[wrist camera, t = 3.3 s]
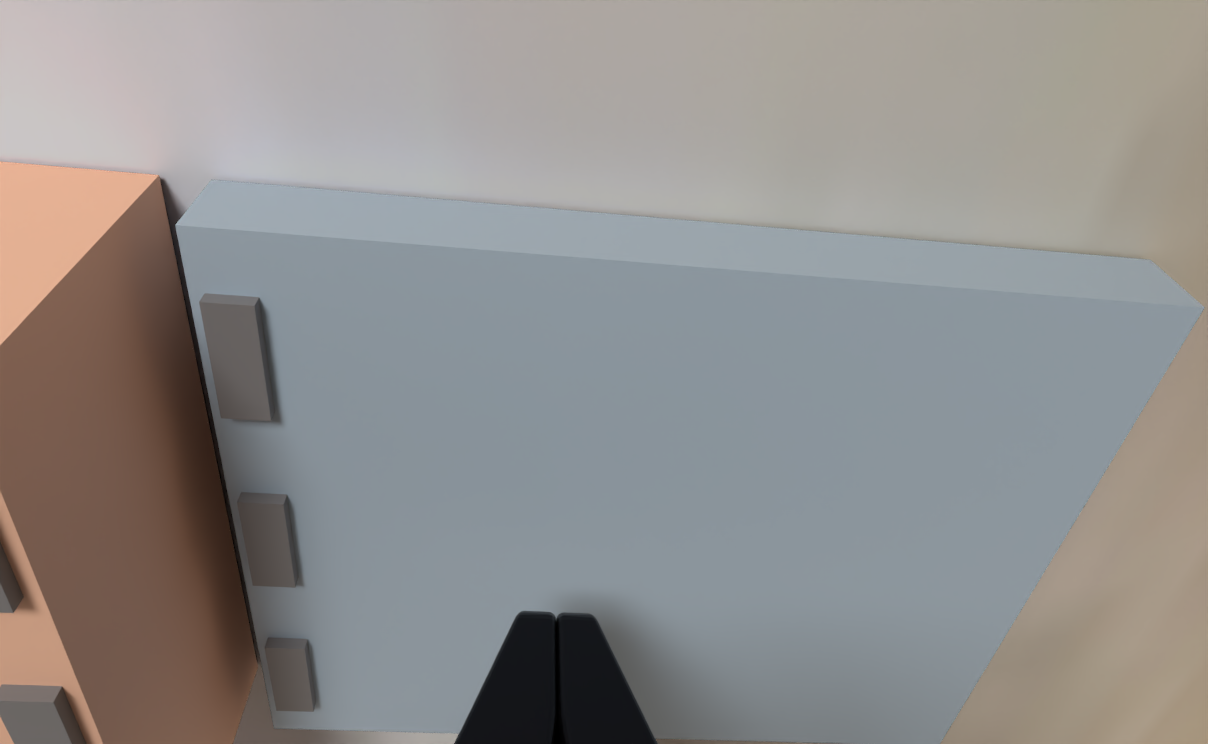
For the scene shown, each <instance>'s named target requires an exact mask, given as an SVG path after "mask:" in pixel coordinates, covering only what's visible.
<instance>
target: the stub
mask: <svg viewBox="0 0 1208 744" xmlns="http://www.w3.org/2000/svg"><path fill="white" fill-rule="evenodd" d="M257 669H258V665H257V660H256V655H255V650H254V645H253V640H252V635H251V630H250V625H249V620H248V615H247V610H246V605H245V601H244V596H243V591H242V586H241V581H240V576H239V571H238V566H237V561H236V556H235V551H234V546H233V541H232V536H231V531H230V526H229V521H228V516H227V511H226V506H225V501H224V496H223V491H222V486H221V481H220V476H219V471H218V466H217V461H216V456H215V451H214V446H213V441H212V436H211V431H210V426H209V421H208V416H207V411H206V406H205V401H204V396H203V391H202V386H201V381H200V376H199V371H198V366H197V361H196V357H195V352H194V347H193V342H192V337H191V332H190V327H189V322H188V317H187V312H186V307H185V302H184V297H183V292H182V287H181V282H180V277H179V272H178V267H177V262H176V257H175V252H174V247H173V242H172V237H171V232H170V227H169V222H168V217H167V212H166V207H165V202H164V197H163V192H162V187H161V182H160V177H159V175H151V174H140V173H128V172H116V171H105V170H93V169H81V168H69V167H58V166H46V165H34V164H23V163H11V162H0V744H233V741H234V738H235V735H236V732H237V729H238V726H239V723H240V720H241V717H242V714H243V711H244V708H245V705H246V702H247V699H248V696H249V693H250V690H251V687H252V684H253V681H254V678H255V675H256V672H257Z"/></svg>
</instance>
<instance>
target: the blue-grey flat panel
mask: <svg viewBox="0 0 1208 744" xmlns="http://www.w3.org/2000/svg"><path fill="white" fill-rule="evenodd" d="M175 227H176V232H177V237H178V242H179V247H180V252H181V257H182V263H183V268H184V273H185V278H186V283H187V288H188V293H189V298H190V303H191V308H192V314H193V319H194V324H195V329H196V334H197V339H198V344H199V349H200V354H201V359H202V364H203V370H204V375H205V380H206V385H207V390H208V395H209V400H210V405H211V410H212V415H213V420H214V426H215V431H216V436H217V441H218V446H219V451H220V456H221V461H222V466H223V471H224V477H225V482H226V487H227V492H228V497H229V502H230V507H231V512H232V517H233V522H234V527H235V533H236V538H237V543H238V548H239V553H240V558H241V563H242V568H243V573H244V578H245V583H246V589H247V594H248V599H249V604H250V609H251V614H252V619H253V624H254V629H255V634H256V640H257V645H258V650H259V655H260V660H261V665H262V670H263V675H264V680H265V685H266V690H267V696H268V701H269V706H270V711H271V716H272V721H273V726H274V729H309V730H347V731H385V732H423V733H460V731H461V729H462V727H463V725H464V722H465V720H466V718H467V716H468V714H469V712H470V710H471V708H472V706H473V704H474V702H475V700H476V698H477V695H478V693H479V691H480V689H481V687H482V685H483V683H484V681H485V679H486V677H487V675H488V673H489V671H490V669H491V666H492V664H493V662H494V660H495V658H496V656H497V654H498V652H499V650H500V648H501V646H502V644H503V642H504V639H505V637H506V635H507V633H508V631H509V629H510V627H511V625H512V623H513V621H514V619H515V617H516V615H517V614H518V613H519V612H521V611H546V612H551V613H553V614H554V615H555V617H557V616H558V614H560V613H562V612H571V613H590V614H592V615H594V616H595V618H596V619H597V620H598V622H599V624H600V626H601V628H602V630H603V632H604V634H605V636H606V639H607V641H608V643H609V645H610V647H611V649H612V651H613V653H614V655H615V657H616V659H617V661H618V663H619V665H620V667H621V669H622V671H623V673H624V675H625V678H626V680H627V682H628V684H629V686H630V688H631V690H632V692H633V694H634V696H635V698H636V700H637V702H638V704H639V706H640V708H641V710H642V712H643V714H644V717H645V719H646V721H647V723H648V725H649V727H650V729H651V731H652V733H653V735H654V737H655V739H689V740H727V741H765V742H803V743H841V744H940V743H941V741H942V740H943V738H944V736H945V735H946V733H947V731H948V730H949V728H950V727H951V725H952V723H953V722H954V720H955V718H956V717H957V715H958V713H959V712H960V710H961V708H962V707H963V705H964V703H965V702H966V700H967V699H968V697H969V695H970V694H971V692H972V690H973V689H974V687H975V685H976V684H977V682H978V680H979V679H980V677H981V675H982V674H983V672H984V671H985V669H986V667H987V666H988V664H989V662H990V661H991V659H992V657H993V656H994V654H995V652H996V651H997V649H998V647H999V646H1000V644H1001V642H1002V641H1003V639H1004V638H1005V636H1006V634H1007V633H1008V631H1009V629H1010V628H1011V626H1012V624H1013V623H1014V621H1015V619H1016V618H1017V616H1018V614H1019V613H1020V611H1021V610H1022V608H1023V606H1024V605H1025V603H1026V601H1027V600H1028V598H1029V596H1030V595H1031V593H1032V591H1033V590H1034V588H1035V586H1036V585H1037V583H1038V582H1039V580H1040V578H1041V577H1042V575H1043V573H1044V572H1045V570H1046V568H1047V567H1048V565H1049V563H1050V562H1051V560H1052V558H1053V557H1054V555H1055V553H1056V552H1057V550H1058V549H1059V547H1060V545H1061V544H1062V542H1063V540H1064V539H1065V537H1066V535H1067V534H1068V532H1069V530H1070V529H1071V527H1072V525H1073V524H1074V522H1075V521H1076V519H1077V517H1078V516H1079V514H1080V512H1081V511H1082V509H1083V507H1084V506H1085V504H1086V502H1087V501H1088V499H1089V497H1090V496H1091V494H1092V493H1093V491H1094V489H1095V488H1096V486H1097V484H1098V483H1099V481H1100V479H1101V478H1102V476H1103V474H1104V473H1105V471H1106V469H1107V468H1108V466H1109V464H1110V463H1111V461H1112V460H1113V458H1114V456H1115V455H1116V453H1117V451H1118V450H1119V448H1120V446H1121V445H1122V443H1123V441H1124V440H1125V438H1126V436H1127V435H1128V433H1129V432H1130V430H1131V428H1132V427H1133V425H1134V423H1135V422H1136V420H1137V418H1138V417H1139V415H1140V413H1141V412H1142V410H1143V408H1144V407H1145V405H1146V403H1147V402H1148V400H1149V399H1150V397H1151V395H1152V394H1153V392H1154V390H1155V389H1156V387H1157V385H1158V384H1159V382H1160V380H1161V379H1162V377H1163V375H1164V374H1165V372H1166V371H1167V369H1168V367H1169V366H1170V364H1171V362H1172V361H1173V359H1174V357H1175V356H1176V354H1177V352H1178V351H1179V349H1180V347H1181V346H1182V344H1183V343H1184V341H1185V339H1186V338H1187V336H1188V334H1189V333H1190V331H1191V329H1192V328H1193V326H1194V324H1195V323H1196V321H1197V319H1198V318H1199V316H1200V314H1201V313H1202V311H1203V310H1204V308H1205V307H1203V306H1202V305H1201V304H1200V303H1199V302H1198V301H1197V300H1196V299H1194V298H1193V297H1192V296H1191V295H1190V294H1189V293H1188V292H1186V291H1185V290H1184V289H1183V288H1182V287H1181V286H1180V285H1178V284H1177V283H1176V282H1175V281H1174V280H1173V279H1172V278H1170V277H1169V276H1168V275H1167V274H1166V273H1165V272H1164V271H1162V270H1161V269H1160V268H1159V267H1158V266H1157V265H1156V264H1155V263H1153V262H1152V261H1151V260H1147V259H1135V258H1123V257H1112V256H1100V255H1088V254H1077V253H1065V252H1053V251H1041V250H1030V249H1018V248H1006V247H995V246H983V245H971V244H959V243H948V242H936V241H924V240H913V239H901V238H889V237H877V236H866V235H854V234H842V233H831V232H819V231H807V230H796V229H784V228H772V227H760V226H749V225H737V224H725V223H714V222H702V221H690V220H678V219H667V218H655V217H643V216H632V215H620V214H608V213H596V212H585V211H573V210H561V209H550V208H538V207H526V206H514V205H503V204H491V203H479V202H468V201H456V200H444V199H432V198H421V197H409V196H397V195H386V194H374V193H362V192H351V191H339V190H327V189H315V188H304V187H292V186H280V185H269V184H257V183H245V182H233V181H222V180H211V181H210V182H209V184H208V185H207V186H206V187H205V188H204V190H203V191H202V192H201V193H200V195H199V196H198V197H197V198H196V200H195V201H194V202H193V203H192V205H191V206H190V207H189V208H188V210H187V211H186V212H185V213H184V215H183V216H182V217H181V218H180V220H179V221H178V222H177V223H176V225H175Z"/></svg>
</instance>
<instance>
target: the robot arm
mask: <svg viewBox="0 0 1208 744" xmlns="http://www.w3.org/2000/svg"><path fill="white" fill-rule="evenodd" d="M454 744H658V743H657V741H656V739H655V737H654V735H653V733H652V731H651V729H650V727H649V725H648V723H647V721H646V719H645V717H644V714H643V712H642V710H641V708H640V706H639V704H638V702H637V700H636V698H635V696H634V694H633V692H632V690H631V688H630V686H629V684H628V682H627V680H626V678H625V675H624V673H623V671H622V669H621V667H620V665H619V663H618V661H617V659H616V657H615V655H614V653H613V651H612V649H611V647H610V645H609V643H608V641H607V639H606V636H605V634H604V632H603V630H602V628H601V626H600V624H599V622H598V620H597V619H596V618H595V616H594V615H592V614H590V613H571V612H562V613H560V614H558V616H557V617H555V615H554V614H553V613H551V612H546V611H521V612H519V613H518V614H517V615H516V617H515V619H514V621H513V623H512V625H511V627H510V629H509V631H508V633H507V635H506V637H505V639H504V642H503V644H502V646H501V648H500V650H499V652H498V654H497V656H496V658H495V660H494V662H493V664H492V666H491V669H490V671H489V673H488V675H487V677H486V679H485V681H484V683H483V685H482V687H481V689H480V691H479V693H478V695H477V698H476V700H475V702H474V704H473V706H472V708H471V710H470V712H469V714H468V716H467V718H466V720H465V722H464V725H463V727H462V729H461V731H460V733H459V735H458V737H457V739H456V741H455V743H454Z"/></svg>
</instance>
